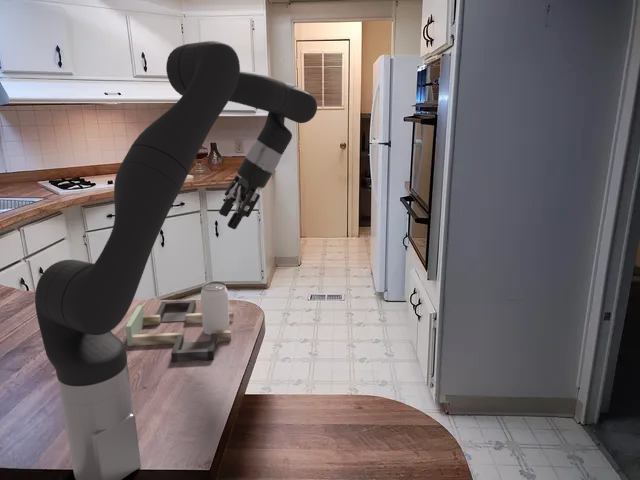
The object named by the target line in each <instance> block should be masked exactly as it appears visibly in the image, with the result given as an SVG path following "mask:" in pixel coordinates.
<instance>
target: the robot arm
mask: <svg viewBox="0 0 640 480" xmlns="http://www.w3.org/2000/svg"><path fill="white" fill-rule="evenodd" d="M165 71H166V76H167V79H168V81H169V84H170V85H171V87H172V88H173V90H174V91H175V92H177V93H178V94H179V95H180V96H181V98H179V100H178V101H177V102H176V103H174V105H173V106H172V107H170V108H168V110H167V111H166V112H165V113H163V114H162V115H161V116H159V117H158V118H157V119H155V120H154V121H153V122H152V123H150V124H149V125H148V126H147V127H146V128H145V129H144V130H143V131H142V132H141V133H140V134H139V135H138V136H137V138H136V139H135V140H134V141H133V143H132V144H131V146H130V148H129V149H128V151H127V153H126V155H125V156H124V158H123V160H122V162H121V163H120V165H119V168H118V169H117V173H116V175H115V179H114V185H113V196H114V198H113V200H114V201H113V202H114V222H113V224H112V225H113V226H112V228H111V229H112V230H111V232H110V234H109V237H108V240H107V241H106V243H105V245H104V247H103V249H102V251H101V252H100V255H99V256H98V258H97V259H96V260H95V262H94V263H92V262H87V261H83V260H78V259H64V260H59V261H57V262H55V263H52V264H51V265H50V266H48V267H47V268H46V269H45V270H44V272H42V275H41V276H40V277H39V280H38V282H37V284H36V288H35V293H34V294H35V295H34V305H35V313H36V318H37V323H38V326H39V327H38V328H39V331H40V334H41V339H42V344H43V347H44V351H45V355H46V357H47V359H48V361H49V362H50V363H51V365H52V366H53V368H54V369H55V375H56V378H57V383H58V390H59V397H60V401H61V408H62V413H63V418H64V419H63V420H64V424H65V430H66V436H67V441H68V448H69V454H70V458H71V465H72V470H73V475H74V476H73V477H74V479H75V480H123V479H124V478H126V477H127V476H129V475H130V474H131V473H134V472H135V471H137V470H138V469H139V468H141V467H142V462H141V455H140V454H141V453H140V447H139V446H140V445H139V439H138V430H137V429H138V428H137V420H136V415H135V413H134V406H133V405H134V404H133V398H132V397H133V396H132V390H131V381H130V372H129V365H128V364H129V363H128V355H127V349H126V345H125V344H124V343H123V341H122V340H121V339H120V338H119V337H118V336H117V335H116V334H114V333H113V332H112V331H113V330H114V329H115V328H116V327H117V326H118V325H119V324H120V323H121V322H122V321H123V319H124V317H126V315H127V313H128V312H129V309H130V307H131V305H132V303H133V300H134V299H135V295H136V293H137V290H138V288H139V286H140V282H141V280H142V277H143V274H144V272H145V269H146V265H147V263H148V260H149V257H150V255H151V253H152V250H153V248H154V245H155V243H156V242H157V241H156V240H157V238H158V237H159V234H160V233H161V230H162V227H163V225H164V223H165V220H166V219H167V216H168V214H169V212H170V210H171V208H172V206H173V205H174V202H175V201H176V199H177V197H178V195H179V193H180V192H181V189H182V188H183V185H184V183H185V181H186V179H187V177H188V175H189V173H190V170H191V168H192V166H193V163H194V162H195V159H196V157H197V155H198V154H199V152H200V150H201V148H202V146H203V144H204V142H205V141H206V138H208V137H207V136H208V135H209V133H210V131H211V129H212V127H213V126H214V124H215V122H216V121H217V119H218V118H219V116H220V115H221V113H222V111H224V109H225V107H226V105H228V103H229V102H232V103H235V104H240V105H244V106H248V107H250V108H254V109H258V110H260V111H264V112H268V113H267V117H266V119H265V123H264V126H263V127H262V129H261V131H260V133H259V135H258V137H257V138H256V140H255V142H253V144H252V145H251V147H250V148H249V150H248V152H247V153H246V155H245V157H244V158H243V160H242V162H241V164H240V165H239V167H238V169H237V171H236V173H237V174H236V175H235V176H234V177H233V179H232V181H231V182H230V184H229V185H228V188H227V189H226V190H225V193H224V196H225V199H224V200H225V201H224V202H223V204H222V206H221V208H220V209H219V211H218V213H219V215H220V216H223V217H228V216H229V215H230V212H231V210H232V209H233V206H234V204H236V207H235V211H234V212H233V214H232V216H231V217H230V219H229V220H228V222H227V227H228V228H229V229H233V230H237V229H238V226H239V225H240V222H241V221H242V219H244V217H246V218H249V217H250V215H251V214H252V212H253V210H254V208H255V207H256V205H257V203H258V201H259V199H260V197H261V195H260V194H259V193H257V189H258V188H260V189H264V188H265V187H266V185H267V184H268V183H269V180H270V178H271V177H272V175H273V174H274V172H275V171H276V168H277V167H278V164H279V163H280V160H281V158H282V156H283V155H284V152H285V151H286V149H287V147H288V146H289V145H290V142H291V141H292V139H293V133H292V132H291V131H290V129H288V127H287V126H286V125H285V121H286V120H285V119H288V120H290V121H291V122H295V123H299V124H305V123H307V122H310V121H311V120H312V119H313V118H314V117H315V115H316V114H317V112H318V102H317V100H316V98H315V97H314V95H313V94H311V93H309V92H307V91H306V90H305V89H302V88H301V87H298V86H297V85H296V84H293V83H290V82H283V81H282V80H281V79H280V80H279V79H277V78H275V77H273V76H271V75H267V74H264V73H259V72H255V71H254V72H253V71H248V70H241V65H240V59H239V56H238V54H237V52H236V50H235V49H234V48H233V46H231V45H230V44H229V43H226V42H224V41H218V40H207V41H201V42H200V41H199V42H191V43H186V44H185V43H184V44H182V45H179V46H177V47H175V48H173V50H172V51H171V52H170V53H169V55H168V56H167V59H166V69H165Z"/></svg>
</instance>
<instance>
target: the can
mask: <svg viewBox="0 0 640 480" xmlns="http://www.w3.org/2000/svg"><path fill="white" fill-rule="evenodd" d="M200 304H201V306H200V307H201V313H202V322H203V323H202V331H203V332H204V334H205V335H207V336H210V337H211V332H212V331H224V330H230V322H229V312H230V310H229V308H230V307H229V290H228V288H227V287H226V283H224V282H222V281H209V282H206V283H204V284H202V286H201V291H200Z"/></svg>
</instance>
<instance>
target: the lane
mask: <svg viewBox="0 0 640 480" xmlns="http://www.w3.org/2000/svg"><path fill="white" fill-rule="evenodd" d="M196 308H197V303H196V300H173V301H172V300H171V301H170V300H169V301H161V303H160V304H159V307H158V309H157V311H156V313H155V314H151V315H150V314H146V315H145V314H144V317H143V322H144V326H157V325H161V324H162V323H179V322H185V323H186V324H203V322H202V312H195V311H196V310H197V309H196ZM234 316H235V315H234V311H229V323H230V322H234V320H235V319H234V318H235V317H234ZM128 340H129V339H128ZM132 341H133V346H150V345H151V346H152V345H153V346H155V345H173V344H174V345H173V347H172V350H171V354H170V355H171V362H172V363H182V362H184V363H185V362H198V361H201V362H203V361H214V359H215V354H216V349H217V342H231V341H232V330H231V329H229V330H224V331H212V332H211V336H210V339H209V340H207V341H206V340H205V341H204V340H203V341H186V342H185V332H165V333H164V332H163V333H139V334H137V335H133V336H132ZM127 346H128V344H127ZM133 346H132V347H133Z"/></svg>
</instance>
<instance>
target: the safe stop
mask: <svg viewBox="0 0 640 480" xmlns="http://www.w3.org/2000/svg"><path fill="white" fill-rule="evenodd" d="M144 309H145V308H144V305H143V304H142V305H137V306H136V309H135V310H134V312H133V313H132V315H131V316H130V318H129V319H128V322H127V323H126V324H125V333H126V343H127V344H128V345H127V346H128V347H133V341H132V336H133V335H137V334H141V331H142V330H143V328H144V326H145V325H144V322H143V317H144V315H145V311H144ZM128 339H129V340H128Z"/></svg>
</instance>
